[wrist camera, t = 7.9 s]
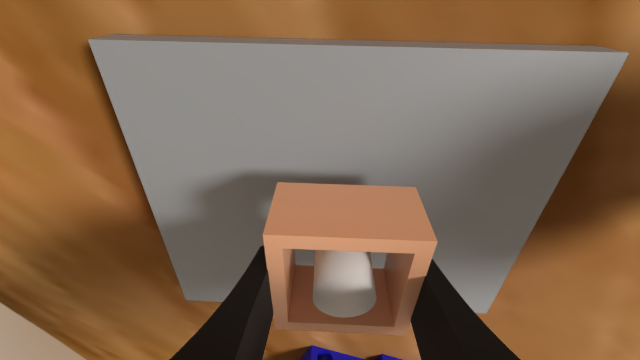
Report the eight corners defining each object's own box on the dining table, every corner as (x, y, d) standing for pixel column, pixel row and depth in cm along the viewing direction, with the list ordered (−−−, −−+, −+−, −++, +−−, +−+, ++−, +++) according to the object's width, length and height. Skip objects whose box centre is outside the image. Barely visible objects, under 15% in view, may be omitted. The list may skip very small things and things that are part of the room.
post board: (598, 46, 12) (820, 94, 6) (477, 293, 21) (528, 402, 15) (112, 34, 12) (-61, 70, 7) (194, 281, 21) (146, 384, 16)
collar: (415, 187, 12) (437, 241, 9) (394, 276, 15) (405, 335, 13) (277, 182, 12) (262, 234, 10) (284, 272, 15) (274, 329, 13)
